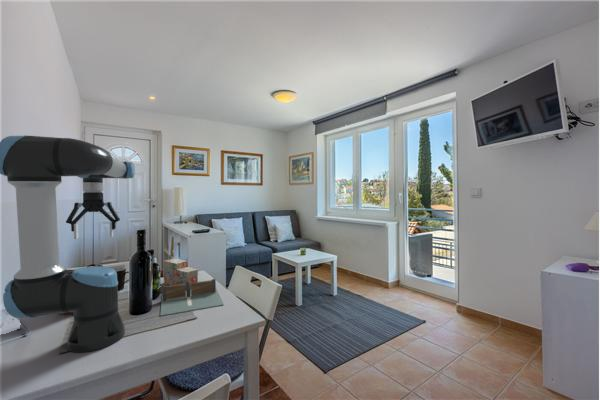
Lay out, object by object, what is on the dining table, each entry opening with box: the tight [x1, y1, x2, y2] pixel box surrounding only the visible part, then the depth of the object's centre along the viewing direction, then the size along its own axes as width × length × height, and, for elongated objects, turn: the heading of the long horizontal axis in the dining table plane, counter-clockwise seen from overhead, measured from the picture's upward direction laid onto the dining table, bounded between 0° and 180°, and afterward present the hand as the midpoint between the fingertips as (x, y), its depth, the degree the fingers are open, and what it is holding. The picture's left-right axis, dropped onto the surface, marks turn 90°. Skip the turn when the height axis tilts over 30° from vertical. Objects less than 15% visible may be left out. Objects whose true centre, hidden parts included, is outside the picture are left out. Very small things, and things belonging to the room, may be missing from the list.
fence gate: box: [191, 278, 217, 296], centre depth 128 cm, size 1×11×6 cm, turn 115°
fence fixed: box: [161, 281, 190, 301], centre depth 123 cm, size 2×11×7 cm, turn 115°
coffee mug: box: [111, 266, 130, 292], centre depth 136 cm, size 12×9×10 cm
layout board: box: [159, 288, 224, 317], centre depth 122 cm, size 24×24×1 cm
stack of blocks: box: [162, 258, 199, 291], centre depth 142 cm, size 21×6×12 cm, turn 55°
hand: (94, 237), depth 128 cm, fingers open, 13 cm apart
